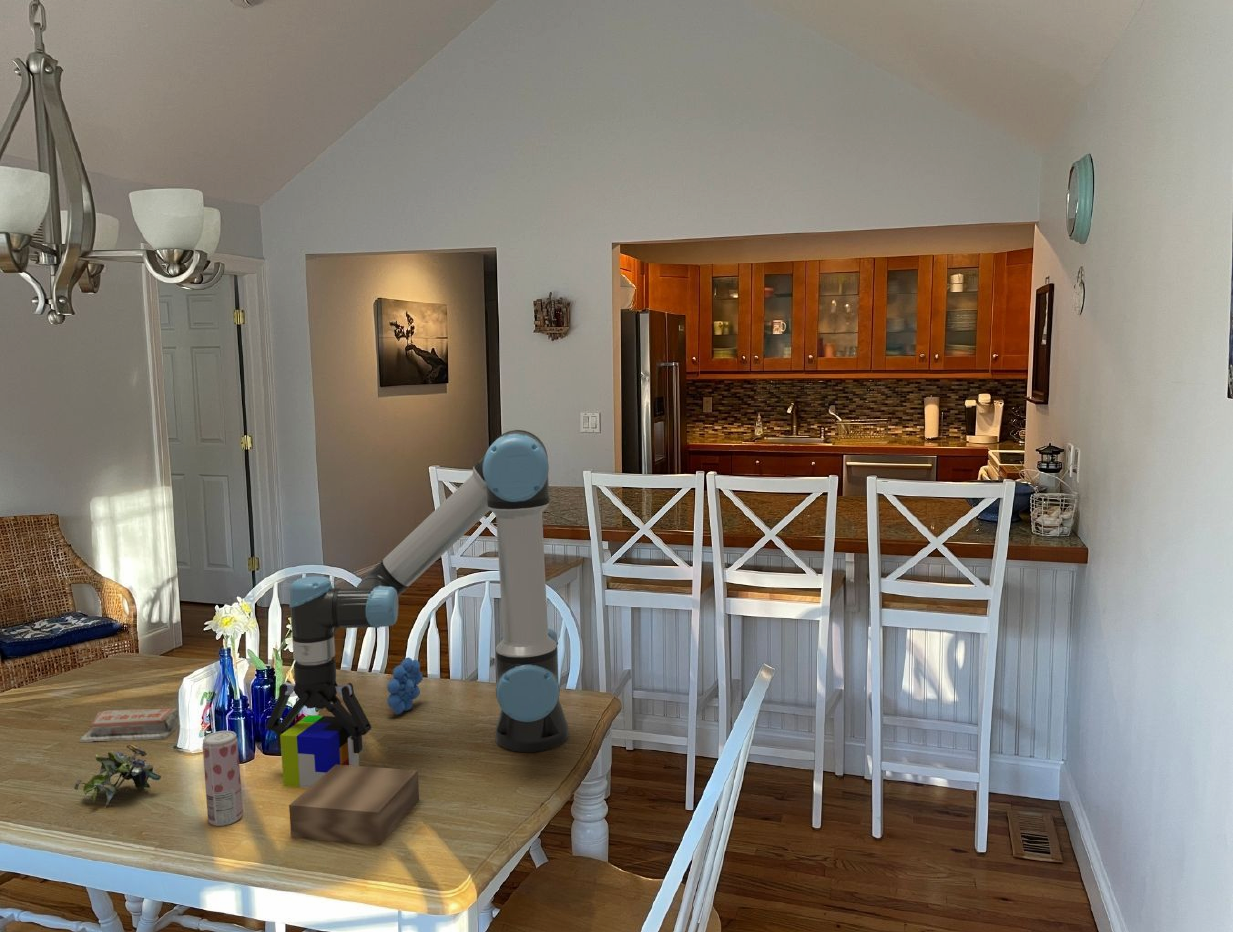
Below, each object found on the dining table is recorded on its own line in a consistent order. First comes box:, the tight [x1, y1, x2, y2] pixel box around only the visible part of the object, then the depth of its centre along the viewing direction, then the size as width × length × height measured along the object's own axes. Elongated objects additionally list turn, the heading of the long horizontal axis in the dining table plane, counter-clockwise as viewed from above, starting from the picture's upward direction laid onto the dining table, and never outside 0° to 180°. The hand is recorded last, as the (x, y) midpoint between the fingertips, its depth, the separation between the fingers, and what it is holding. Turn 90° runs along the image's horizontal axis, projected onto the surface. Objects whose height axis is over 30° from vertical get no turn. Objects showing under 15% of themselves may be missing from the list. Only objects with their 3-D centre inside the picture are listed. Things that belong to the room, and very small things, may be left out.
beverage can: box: [202, 730, 244, 827], centre depth 165 cm, size 6×6×15 cm
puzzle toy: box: [280, 714, 351, 789], centre depth 182 cm, size 10×10×10 cm
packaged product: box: [78, 707, 179, 743], centre depth 206 cm, size 18×5×10 cm
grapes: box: [386, 657, 424, 715], centre depth 214 cm, size 12×7×12 cm, turn 155°
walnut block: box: [288, 764, 420, 846], centre depth 165 cm, size 16×16×6 cm
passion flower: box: [73, 744, 162, 808], centre depth 174 cm, size 11×11×12 cm
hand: (320, 766), depth 182 cm, fingers open, 13 cm apart
